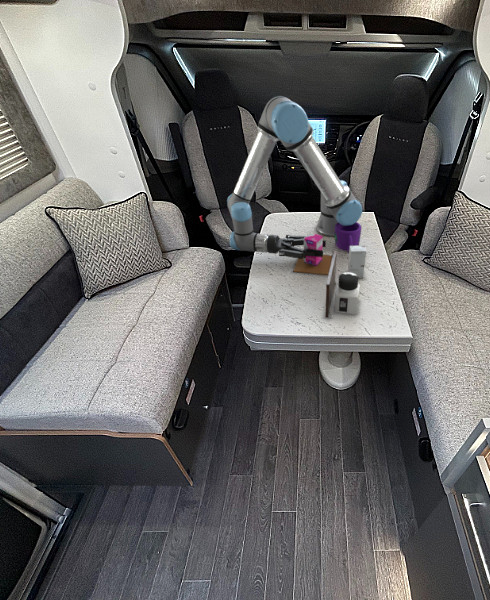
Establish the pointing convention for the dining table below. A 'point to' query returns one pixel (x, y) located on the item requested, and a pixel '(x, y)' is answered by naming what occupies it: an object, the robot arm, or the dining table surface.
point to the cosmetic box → (357, 260)
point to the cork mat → (319, 269)
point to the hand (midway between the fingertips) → (324, 248)
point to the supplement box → (313, 247)
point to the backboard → (330, 284)
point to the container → (347, 293)
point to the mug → (347, 236)
